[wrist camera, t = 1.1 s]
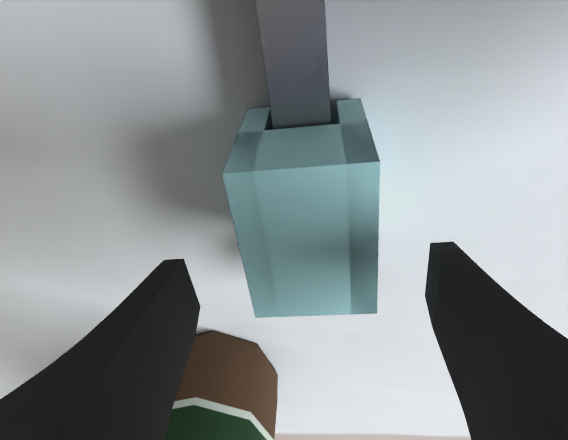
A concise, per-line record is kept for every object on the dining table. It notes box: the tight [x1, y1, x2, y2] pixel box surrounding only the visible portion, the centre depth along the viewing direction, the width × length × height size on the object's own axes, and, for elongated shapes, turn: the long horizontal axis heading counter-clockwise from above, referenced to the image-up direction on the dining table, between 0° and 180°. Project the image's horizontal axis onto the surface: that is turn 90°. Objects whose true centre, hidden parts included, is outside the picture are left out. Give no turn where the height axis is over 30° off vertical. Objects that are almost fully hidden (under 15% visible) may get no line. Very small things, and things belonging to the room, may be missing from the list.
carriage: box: [222, 98, 380, 318], centre depth 15 cm, size 4×6×5 cm
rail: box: [255, 0, 331, 130], centre depth 15 cm, size 4×15×3 cm, turn 7°
